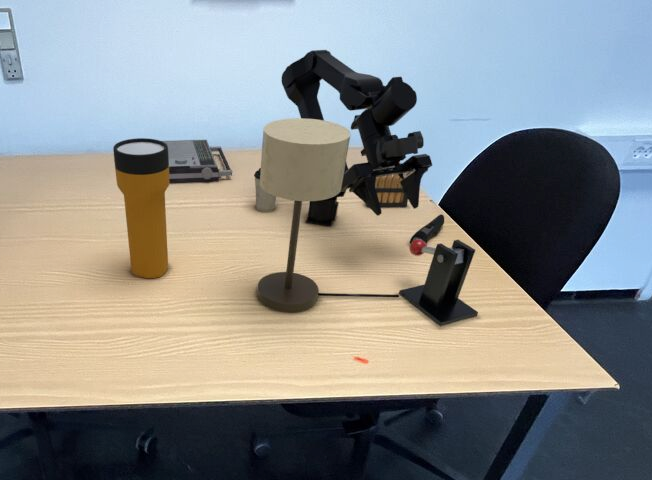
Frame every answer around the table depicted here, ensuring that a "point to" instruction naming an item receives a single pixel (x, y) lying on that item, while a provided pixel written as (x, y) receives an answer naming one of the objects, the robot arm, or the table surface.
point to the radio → (194, 162)
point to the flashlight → (144, 202)
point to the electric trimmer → (429, 229)
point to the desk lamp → (300, 195)
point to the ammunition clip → (390, 191)
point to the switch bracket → (443, 286)
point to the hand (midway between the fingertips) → (398, 211)
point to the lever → (432, 250)
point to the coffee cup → (263, 196)
